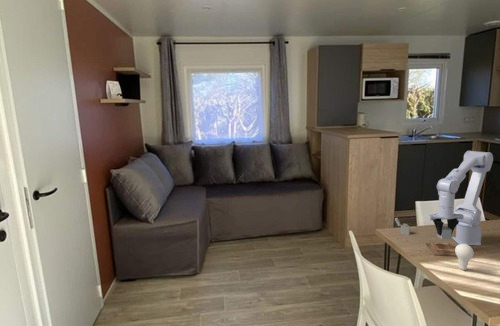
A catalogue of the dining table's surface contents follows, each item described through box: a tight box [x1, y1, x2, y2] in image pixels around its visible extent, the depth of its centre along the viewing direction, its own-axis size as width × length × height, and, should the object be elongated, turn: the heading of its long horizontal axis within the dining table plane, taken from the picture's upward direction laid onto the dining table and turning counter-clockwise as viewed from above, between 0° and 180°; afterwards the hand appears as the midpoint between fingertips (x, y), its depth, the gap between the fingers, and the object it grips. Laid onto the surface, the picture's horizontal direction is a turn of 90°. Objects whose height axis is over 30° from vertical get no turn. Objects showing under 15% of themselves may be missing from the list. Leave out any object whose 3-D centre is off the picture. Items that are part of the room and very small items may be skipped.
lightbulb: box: [455, 244, 475, 271], centre depth 122 cm, size 6×6×11 cm
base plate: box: [425, 242, 458, 258], centre depth 140 cm, size 11×11×2 cm
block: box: [436, 225, 453, 240], centre depth 138 cm, size 4×4×4 cm
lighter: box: [394, 217, 411, 236], centre depth 160 cm, size 7×2×8 cm, turn 55°
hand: (444, 234), depth 138 cm, fingers closed on block, 4 cm apart
